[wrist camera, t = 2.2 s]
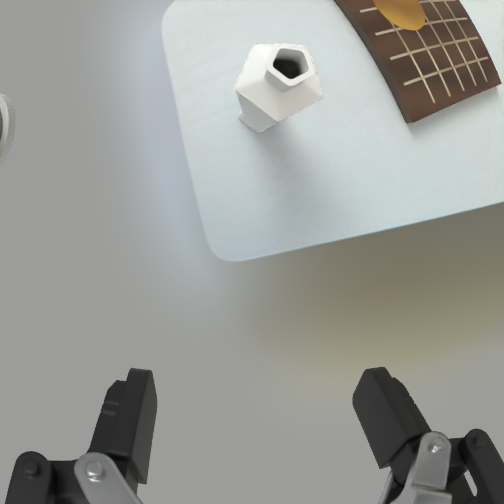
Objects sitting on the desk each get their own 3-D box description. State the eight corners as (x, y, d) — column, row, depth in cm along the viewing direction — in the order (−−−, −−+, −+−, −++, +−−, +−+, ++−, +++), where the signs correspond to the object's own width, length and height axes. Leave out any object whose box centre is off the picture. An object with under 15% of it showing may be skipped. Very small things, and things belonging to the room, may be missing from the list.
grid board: (312, -26, 19) (316, -33, 17) (425, -35, 17) (430, -39, 15) (406, 123, 25) (414, 122, 24) (494, 84, 23) (502, 83, 21)
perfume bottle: (233, 136, 25) (233, 110, 11) (235, 91, 24) (239, 21, 9) (283, 138, 25) (340, 120, 11) (285, 94, 24) (341, 34, 10)
